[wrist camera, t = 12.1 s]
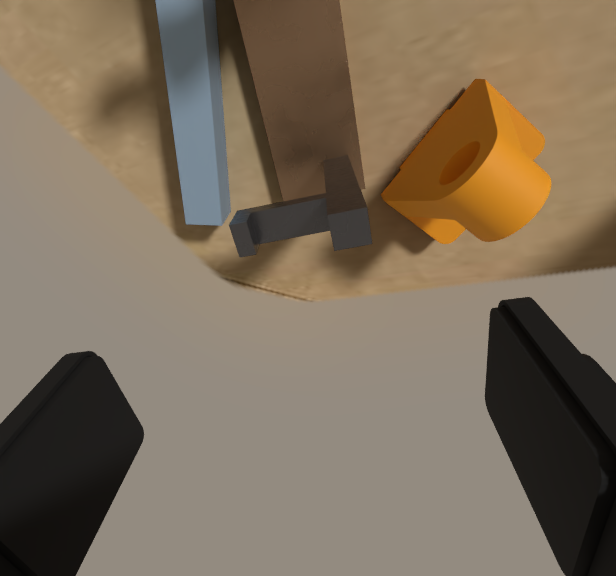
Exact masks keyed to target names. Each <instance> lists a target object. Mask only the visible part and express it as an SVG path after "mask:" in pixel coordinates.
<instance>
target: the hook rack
mask: <svg viewBox="0 0 616 576" xmlns="http://www.w3.org/2000/svg"><path fill="white" fill-rule="evenodd" d="M233 1H234V5H235V9H236V13H237V17H238V21H239V25H240V29H241V33H242V37H243V41H244V45H245V49H246V53H247V57H248V61H249V65H250V69H251V73H252V77H253V81H254V85H255V89H256V93H257V97H258V101H259V105H260V109H261V113H262V117H263V121H264V125H265V129H266V133H267V137H268V141H269V145H270V149H271V153H272V158H273V162H274V166H275V170H276V174H277V178H278V182H279V186H280V190H281V194H282V198H283V202H278V203H273V204H269V205H264V206H259V207H254V208H249V209H244V210H239V211H237V212H236V214H235V216H234V217H233V219H232V221H231V223H230V225H229V227H230V230H231V233H232V236H233V239H234V242H235V245H236V248H237V251H238V254H239V257H245V256H250V255H256V254H257V251H258V248H259V245H260V244H262V243H268V242H273V241H278V240H283V239H289V238H294V237H299V236H304V235H310V234H315V233H320V232H325V231H331V236H332V242H333V247H334V251H336V250H342V249H347V248H353V247H358V246H364V245H369V244H372V239H371V232H370V225H369V217H368V210H367V206H366V203H365V200H364V198H363V195H362V192H361V190H362V189H365V183H364V176H363V169H362V162H361V154H360V147H359V140H358V133H357V125H356V118H355V111H354V104H353V96H352V89H351V82H350V75H349V67H348V60H347V53H346V46H345V38H344V31H343V24H342V17H341V9H340V2H339V0H233Z"/></svg>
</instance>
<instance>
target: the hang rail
mask: <svg viewBox="0 0 616 576" xmlns="http://www.w3.org/2000/svg"><path fill="white" fill-rule="evenodd" d="M155 1H156V9H157V16H158V23H159V31H160V38H161V45H162V53H163V60H164V67H165V75H166V82H167V89H168V97H169V104H170V111H171V119H172V126H173V133H174V141H175V148H176V156H177V163H178V170H179V178H180V185H181V192H182V200H183V207H184V214H185V222H186V224H192V225H220V226H222V225H223V223H224V221H225V220H226V218H227V217H228V215H229V213H230V212H231V208H230V194H229V180H228V167H227V153H226V139H225V126H224V112H223V98H222V85H221V71H220V57H219V43H218V30H217V16H216V2H215V0H155Z"/></svg>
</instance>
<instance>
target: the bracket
mask: <svg viewBox="0 0 616 576" xmlns="http://www.w3.org/2000/svg"><path fill="white" fill-rule="evenodd" d="M544 145H545V138H544V136H543V135H542V134H541V133H540V132H539V131H538V130H537V129H536V128H535V127H534V126H533V125H532V124H531V123H530V122H529V121H528V120H527V119H526V118H525V117H524V116H523V115H522V114H521V113H520V112H518V111H517V110H516V109H515V108H514V107H513V106H512V105H511V104H510V103H509V102H508V101H507V100H506V99H505V98H504V97H503V96H502V95H501V94H500V93H499V92H498V91H497V90H495V89H494V88H493V87H492V86H491V85H490V84H489V83H488V82H487V81H486V80H485V79H475V80H474V81H473V82H472V83H471V85H470V86H469V87H468V88H467V90H466V91H465V92H464V93H463V95H462V96H461V97H460V98H459V99H458V101H457V102H456V103H455V104H454V106H453V107H452V108H451V109H450V110H449V109H447V110H446V111H445V112H444V113H443V115H442V116H441V117H440V118H439V119H438V121H437V122H436V123H435V124H434V126H433V127H432V128H431V129H430V131H429V132H428V133H427V134H426V135H425V137H424V138H423V139H422V140H421V142H420V143H419V144H418V145H417V147H416V148H415V149H414V150H413V151H412V153H411V154H410V155H409V156H408V158H407V159H406V160H405V161H404V163H403V164H402V165H401V166H400V167H399V168H400V169H401V170H400V172H399V173H398V174H397V175H396V177H395V178H394V179H393V180H392V181H391V183H390V184H389V185H388V186H387V188H386V189H385V190H384V191H383V192H382V194H381V196H382V198H383V200H384V201H385V202H386V203H387V204H389V205H390V206H391V207H393V208H394V209H395V210H397V211H398V212H399V213H401V214H402V215H403V216H405V217H406V218H407V219H409V220H410V221H411V222H413V223H414V224H415V225H417V226H418V227H419V228H421V229H422V230H423V231H425V232H426V233H427V234H429V235H430V236H431V237H433V238H434V239H435V240H437V241H438V242H439V243H442V244H449V243H451V242H453V241H454V240H456V239H457V238H458V237H459V236H460V234H461V233H462V232H463V231H464V230H465V229H467V230H468V231H469V232H471V233H472V234H473V235H475V236H476V237H477V238H478V239H480V240H482V241H485V242H492V241H497V240H500V239H503V238H505V237H507V236H509V235H511V234H513V233H515V232H516V231H518V230H519V229H521V228H522V227H523V226H524V225H526V224H527V223H528V222H529V221H530V220H531V219H532V218H533V217H534V216H535V215H536V214H537V213H538V211H539V210H540V209H541V207H542V206H543V205H544V203H545V201H546V199H547V197H548V195H549V193H550V189H551V179H550V176H549V175H548V174H547V173H546V172H545V171H544V170H543V169H542V168H541V167H539V166H538V165H537V164H536V163H535V162H534V161H533V160H534V159H535V158H536V157H537V156H538V155H539V154H540V153H541V151H542V150H543V148H544Z"/></svg>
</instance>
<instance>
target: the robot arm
mask: <svg viewBox="0 0 616 576" xmlns="http://www.w3.org/2000/svg"><path fill="white" fill-rule="evenodd" d="M489 325H490V326H489V341H488V356H487V373H486V388H485V401H486V406H487V409H488V412H489V415H490V417H491V419H492V421H493V423H494V426H495V428H496V430H497V432H498V434H499V436H500V438H501V441H502V443H503V445H504V447H505V449H506V451H507V454H508V456H509V458H510V460H511V462H512V464H513V467H514V469H515V471H516V473H517V475H518V477H519V480H520V482H521V484H522V486H523V488H524V490H525V492H526V495H527V497H528V499H529V501H530V503H531V505H532V508H533V510H534V512H535V514H536V516H537V518H538V521H539V523H540V525H541V527H542V529H543V531H544V533H545V536H546V538H547V540H548V542H549V544H550V547H551V549H552V551H553V553H554V555H555V557H556V560H557V562H558V564H559V566H560V567H561V570H562V571H563V573H564V574H565V575H566V576H616V383H615V382H614V381H613V380H612V378H611V377H610V376H609V375H608V374H607V373H606V372H605V371H604V370H603V369H602V367H601V366H600V365H599V364H598V363H597V362H596V361H595V360H594V359H593V358H591V357H590V356H588V355H585V354H581V353H580V352H579V351H578V350H577V348H576V347H575V346H574V345H573V344H572V343H571V342H570V340H568V338H567V337H566V336H565V335H564V334H563V333H562V331H561V330H560V329H559V328H558V327H557V326H556V325H555V324H554V322H553V321H552V320H551V319H550V318H549V317H548V316H547V314H546V313H545V312H544V311H543V310H542V309H541V308H540V306H539V305H538V304H537V303H536V302H535V301H534V300H533V299H532V298H530V297H525V298H516V299H508V300H502V301H500V303H499V305H498V308H492V309H491V312H490V323H489ZM143 438H144V431H143V427H142V426H141V424H140V422H139V420H138V418H137V417H136V415H135V414H134V412H133V410H132V408H131V406H130V405H129V403H128V401H127V399H126V398H125V396H124V394H123V393H122V391H121V390H120V388H119V386H118V384H117V382H116V381H115V379H114V377H113V375H112V374H111V372H110V370H109V368H108V367H107V365H106V363H105V362H104V360H103V359H102V358H101V357H100V356H97V355H96V354H95V353H94V352H92V351H86V352H77V353H70V354H66V355H65V356H64V357H62V358H61V359H60V360H59V362H57V364H56V365H55V366H54V367H53V368H52V369H51V370H50V371H49V372H48V373H47V374H46V375H45V376H44V378H43V379H42V380H41V381H40V382H39V383H38V384H37V385H36V386H35V387H34V388H33V389H32V391H30V393H29V394H28V395H27V396H26V397H25V398H24V399H23V400H22V401H21V402H20V404H19V405H18V406H17V407H16V408H15V409H14V410H13V411H12V412H11V413H10V414H9V415H8V416H7V417H6V418H5V420H4V421H3V422H2V423H1V424H0V576H76V574H77V572H78V570H79V568H80V566H81V564H82V562H83V560H84V558H85V556H86V554H87V552H88V549H89V548H90V546H91V544H92V542H93V540H94V538H95V536H96V534H97V532H98V530H99V528H100V526H101V524H102V522H103V520H104V518H105V516H106V514H107V512H108V510H109V508H110V506H111V504H112V502H113V500H114V498H115V496H116V494H117V492H118V490H119V488H120V486H121V484H122V482H123V480H124V478H125V476H126V474H127V472H128V470H129V468H130V466H131V464H132V462H133V460H134V458H135V456H136V454H137V452H138V450H139V448H140V446H141V444H142V442H143Z"/></svg>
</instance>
